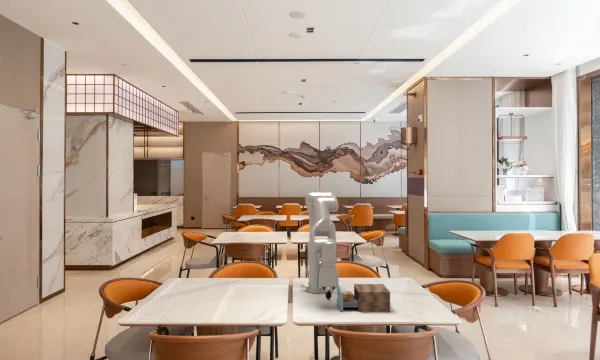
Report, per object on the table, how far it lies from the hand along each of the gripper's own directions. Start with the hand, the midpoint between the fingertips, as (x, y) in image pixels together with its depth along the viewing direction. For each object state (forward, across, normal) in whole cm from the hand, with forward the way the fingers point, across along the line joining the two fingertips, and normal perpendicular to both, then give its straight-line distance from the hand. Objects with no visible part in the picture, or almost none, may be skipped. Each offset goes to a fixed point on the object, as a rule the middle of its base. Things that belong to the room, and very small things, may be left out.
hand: (328, 299), depth 215 cm
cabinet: (+4, +23, 0) cm, 23 cm away
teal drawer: (+4, +13, 0) cm, 14 cm away
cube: (+2, +10, 0) cm, 11 cm away
